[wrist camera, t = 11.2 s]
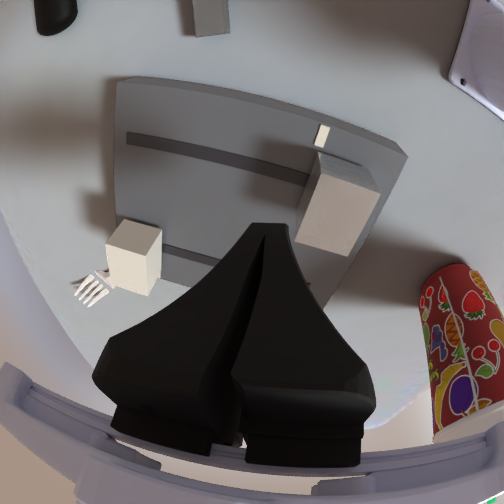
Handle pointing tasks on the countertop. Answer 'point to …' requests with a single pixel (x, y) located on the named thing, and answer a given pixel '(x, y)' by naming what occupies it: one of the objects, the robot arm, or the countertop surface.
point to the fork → (105, 277)
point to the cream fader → (134, 256)
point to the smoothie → (463, 353)
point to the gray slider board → (231, 172)
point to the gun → (65, 11)
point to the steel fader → (335, 205)
